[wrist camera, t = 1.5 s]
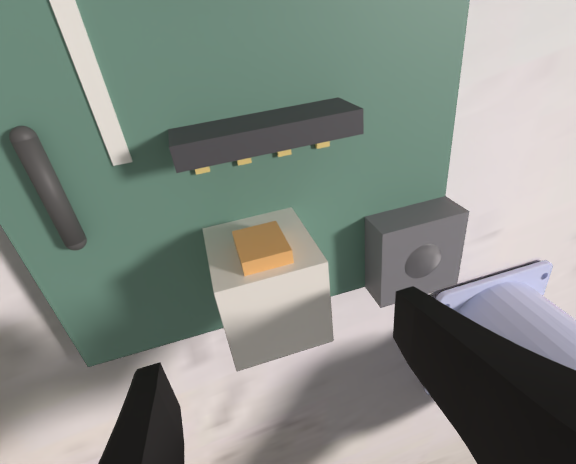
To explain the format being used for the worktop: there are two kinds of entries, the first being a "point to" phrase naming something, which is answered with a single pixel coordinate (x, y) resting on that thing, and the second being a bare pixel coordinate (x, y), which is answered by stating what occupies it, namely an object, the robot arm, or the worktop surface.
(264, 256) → the plug
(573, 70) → the worktop surface
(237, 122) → the board
